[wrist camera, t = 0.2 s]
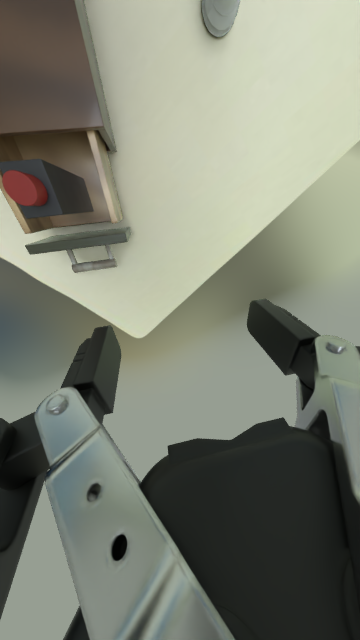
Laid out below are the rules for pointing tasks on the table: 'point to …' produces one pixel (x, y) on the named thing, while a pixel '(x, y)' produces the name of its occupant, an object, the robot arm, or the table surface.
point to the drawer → (93, 165)
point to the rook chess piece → (219, 15)
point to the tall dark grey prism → (44, 188)
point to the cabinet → (49, 71)
